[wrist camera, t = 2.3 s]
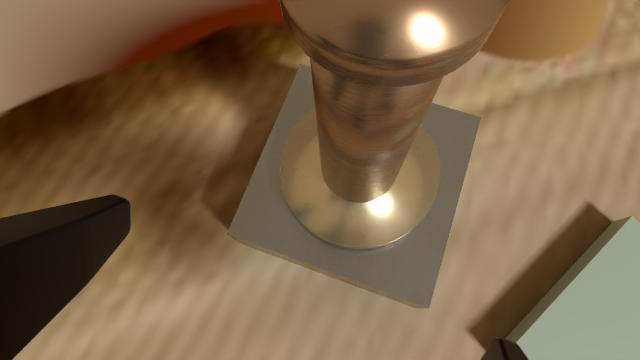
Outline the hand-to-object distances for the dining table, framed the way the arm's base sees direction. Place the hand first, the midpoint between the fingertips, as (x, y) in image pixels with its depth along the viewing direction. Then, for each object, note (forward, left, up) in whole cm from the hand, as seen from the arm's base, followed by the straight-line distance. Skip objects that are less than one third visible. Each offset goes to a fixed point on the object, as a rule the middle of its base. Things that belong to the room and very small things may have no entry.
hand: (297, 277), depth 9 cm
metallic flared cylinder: (+5, -3, -12) cm, 14 cm away
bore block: (+5, -3, -12) cm, 14 cm away
